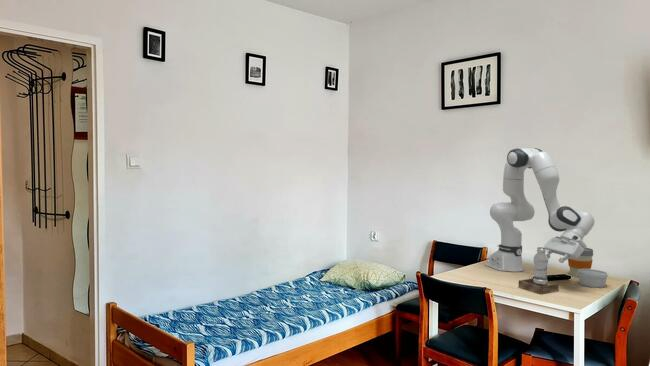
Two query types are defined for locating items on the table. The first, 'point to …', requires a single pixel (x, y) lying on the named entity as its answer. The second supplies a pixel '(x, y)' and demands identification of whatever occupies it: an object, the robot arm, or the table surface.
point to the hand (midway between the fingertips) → (553, 259)
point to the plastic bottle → (540, 267)
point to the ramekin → (592, 277)
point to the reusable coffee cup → (581, 262)
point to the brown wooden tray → (537, 287)
